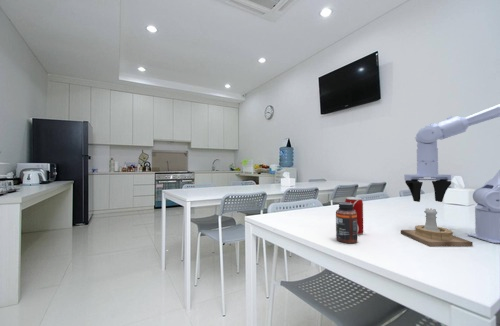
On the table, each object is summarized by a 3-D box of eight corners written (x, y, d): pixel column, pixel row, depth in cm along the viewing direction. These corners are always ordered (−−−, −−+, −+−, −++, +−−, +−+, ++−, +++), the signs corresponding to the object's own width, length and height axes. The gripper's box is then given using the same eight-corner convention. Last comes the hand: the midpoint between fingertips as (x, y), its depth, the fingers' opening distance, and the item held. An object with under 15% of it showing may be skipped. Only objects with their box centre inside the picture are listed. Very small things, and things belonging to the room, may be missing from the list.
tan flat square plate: (436, 233, 74) (436, 223, 74) (472, 246, 62) (472, 234, 62) (400, 233, 74) (400, 223, 74) (429, 246, 62) (429, 234, 62)
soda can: (342, 232, 75) (341, 197, 76) (350, 229, 79) (350, 195, 79) (358, 236, 71) (357, 199, 71) (366, 233, 74) (365, 197, 75)
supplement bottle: (357, 239, 68) (356, 202, 69) (357, 245, 63) (357, 205, 63) (336, 236, 71) (336, 201, 71) (335, 242, 66) (335, 204, 66)
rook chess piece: (444, 237, 66) (443, 210, 66) (427, 236, 67) (426, 210, 67) (435, 233, 70) (434, 208, 70) (419, 232, 71) (418, 207, 71)
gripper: (438, 162, 80) (439, 199, 80) (398, 162, 80) (398, 199, 80) (456, 161, 73) (457, 202, 73) (412, 161, 73) (413, 202, 73)
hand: (427, 201), depth 76 cm, fingers open, 7 cm apart
